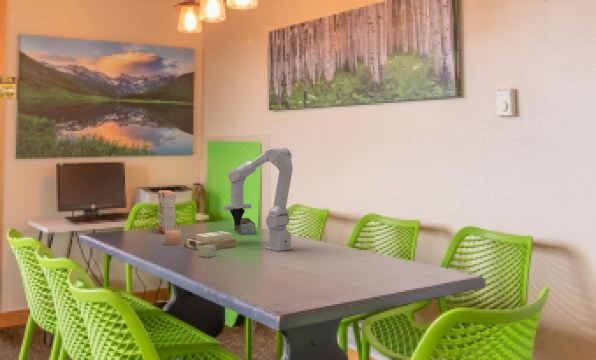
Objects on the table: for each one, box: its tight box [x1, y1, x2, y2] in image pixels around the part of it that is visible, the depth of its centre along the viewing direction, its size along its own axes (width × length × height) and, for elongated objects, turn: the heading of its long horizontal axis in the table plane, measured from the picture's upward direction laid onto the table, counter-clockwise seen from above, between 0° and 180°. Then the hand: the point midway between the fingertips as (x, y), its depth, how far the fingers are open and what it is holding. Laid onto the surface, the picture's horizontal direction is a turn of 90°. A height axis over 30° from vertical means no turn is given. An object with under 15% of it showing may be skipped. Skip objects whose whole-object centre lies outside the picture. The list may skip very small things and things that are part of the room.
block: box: [164, 228, 182, 246], centre depth 261 cm, size 7×7×6 cm
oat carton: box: [195, 230, 233, 243], centre depth 255 cm, size 8×14×6 cm, turn 135°
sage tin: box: [198, 245, 217, 258], centre depth 236 cm, size 5×5×4 cm
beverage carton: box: [233, 217, 256, 236], centre depth 296 cm, size 8×19×7 cm, turn 15°
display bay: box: [184, 236, 236, 251], centre depth 255 cm, size 14×18×4 cm
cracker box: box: [158, 189, 177, 235], centre depth 292 cm, size 14×6×21 cm, turn 25°
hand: (237, 225), depth 264 cm, fingers closed
